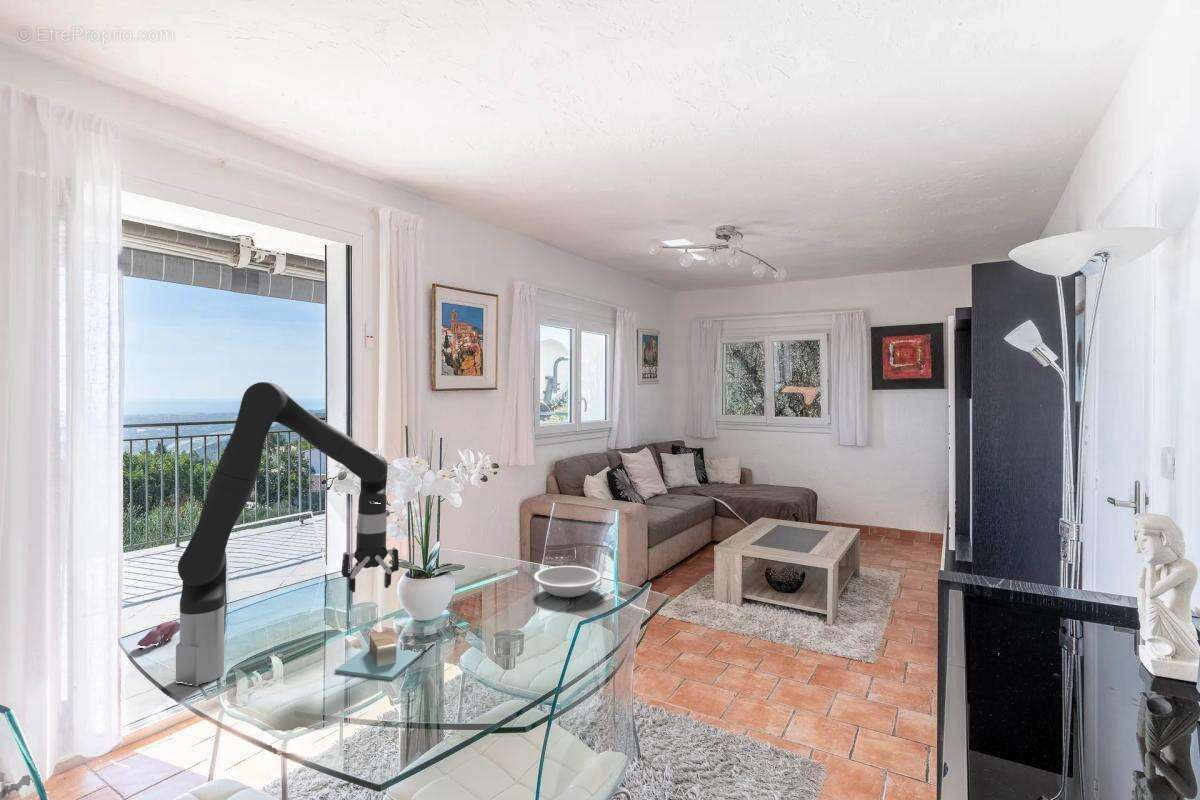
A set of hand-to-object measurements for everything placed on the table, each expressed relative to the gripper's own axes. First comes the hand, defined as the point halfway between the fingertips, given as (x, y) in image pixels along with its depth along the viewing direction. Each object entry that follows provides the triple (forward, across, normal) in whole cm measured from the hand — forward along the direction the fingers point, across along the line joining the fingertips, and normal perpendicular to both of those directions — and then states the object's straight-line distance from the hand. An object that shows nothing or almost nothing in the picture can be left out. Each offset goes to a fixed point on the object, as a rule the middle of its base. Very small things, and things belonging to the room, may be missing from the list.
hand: (370, 589), depth 162 cm
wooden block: (+15, +3, +1) cm, 15 cm away
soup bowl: (+17, +70, +18) cm, 75 cm away
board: (+18, +4, -4) cm, 19 cm away
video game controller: (+19, -48, +36) cm, 64 cm away
